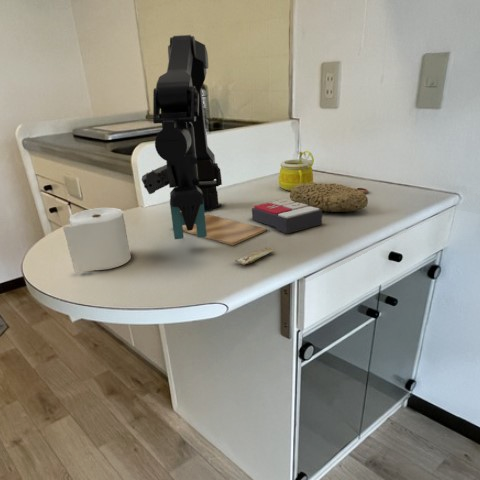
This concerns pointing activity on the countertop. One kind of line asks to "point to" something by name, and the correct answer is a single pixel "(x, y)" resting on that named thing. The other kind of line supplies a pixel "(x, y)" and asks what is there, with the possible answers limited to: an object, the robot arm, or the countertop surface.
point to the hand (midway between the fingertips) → (189, 227)
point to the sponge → (329, 197)
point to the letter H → (179, 221)
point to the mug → (296, 172)
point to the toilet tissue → (97, 239)
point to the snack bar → (254, 256)
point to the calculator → (287, 215)
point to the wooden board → (227, 230)
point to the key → (363, 190)
